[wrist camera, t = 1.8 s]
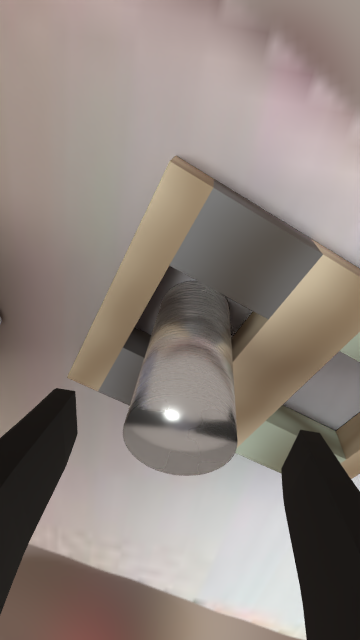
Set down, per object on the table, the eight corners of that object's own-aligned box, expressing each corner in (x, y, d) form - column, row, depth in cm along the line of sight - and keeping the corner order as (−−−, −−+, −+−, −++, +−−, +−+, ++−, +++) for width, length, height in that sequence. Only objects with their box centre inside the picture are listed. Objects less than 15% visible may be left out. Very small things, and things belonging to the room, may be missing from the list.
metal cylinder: (151, 288, 17) (106, 406, 10) (222, 274, 16) (225, 391, 9) (170, 345, 18) (142, 478, 12) (234, 335, 18) (245, 471, 11)
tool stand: (80, 354, 19) (67, 377, 18) (175, 155, 13) (169, 161, 12) (319, 465, 22) (328, 494, 21) (484, 345, 16) (514, 371, 15)
